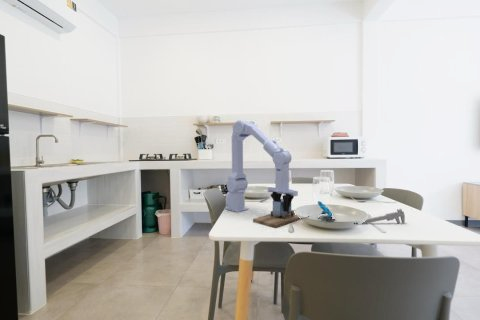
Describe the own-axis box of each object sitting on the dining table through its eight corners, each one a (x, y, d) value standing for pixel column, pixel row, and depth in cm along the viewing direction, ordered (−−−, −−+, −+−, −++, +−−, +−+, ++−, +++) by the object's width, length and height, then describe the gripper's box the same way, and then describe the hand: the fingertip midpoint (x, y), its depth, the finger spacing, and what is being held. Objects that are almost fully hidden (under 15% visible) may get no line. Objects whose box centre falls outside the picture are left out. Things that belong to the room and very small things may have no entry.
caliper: (402, 223, 107) (403, 208, 106) (404, 224, 106) (405, 208, 105) (353, 224, 106) (353, 209, 106) (354, 225, 105) (354, 209, 105)
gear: (335, 219, 107) (318, 200, 110) (324, 228, 108) (307, 209, 111) (337, 216, 117) (321, 199, 120) (327, 224, 118) (312, 207, 121)
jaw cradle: (253, 221, 110) (253, 214, 110) (287, 211, 126) (287, 204, 126) (275, 228, 101) (275, 220, 101) (309, 216, 118) (309, 209, 118)
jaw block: (272, 214, 112) (272, 200, 112) (283, 211, 118) (283, 198, 117) (280, 216, 109) (280, 202, 109) (291, 213, 115) (291, 199, 115)
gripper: (263, 178, 115) (263, 209, 116) (290, 181, 105) (290, 215, 106) (273, 177, 120) (273, 206, 121) (300, 180, 110) (300, 212, 110)
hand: (282, 210), depth 114 cm, fingers closed on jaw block, 4 cm apart
